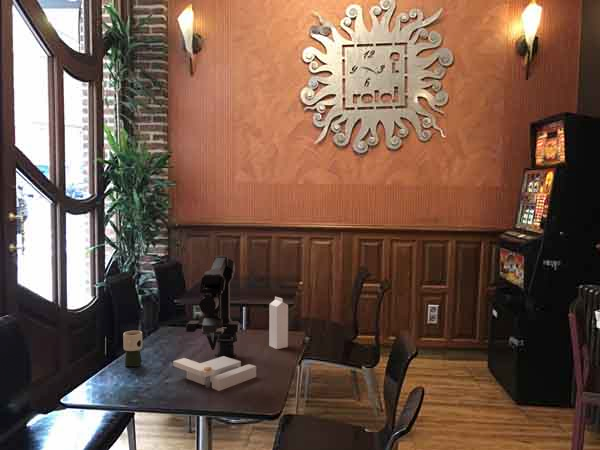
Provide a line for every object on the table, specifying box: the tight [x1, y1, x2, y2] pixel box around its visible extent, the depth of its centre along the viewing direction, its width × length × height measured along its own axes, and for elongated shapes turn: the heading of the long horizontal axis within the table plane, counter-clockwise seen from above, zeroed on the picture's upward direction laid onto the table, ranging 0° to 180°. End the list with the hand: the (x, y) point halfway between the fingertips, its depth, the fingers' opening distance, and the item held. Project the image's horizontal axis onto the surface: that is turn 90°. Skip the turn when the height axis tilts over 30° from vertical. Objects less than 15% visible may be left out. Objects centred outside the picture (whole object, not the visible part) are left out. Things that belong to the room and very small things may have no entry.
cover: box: [172, 357, 215, 377], centre depth 190 cm, size 5×18×2 cm, turn 50°
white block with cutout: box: [186, 356, 257, 392], centre depth 194 cm, size 18×19×4 cm
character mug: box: [122, 330, 143, 367], centre depth 206 cm, size 11×7×13 cm, turn 3°
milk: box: [268, 296, 289, 350], centre depth 232 cm, size 6×6×22 cm
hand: (213, 349), depth 191 cm, fingers closed
